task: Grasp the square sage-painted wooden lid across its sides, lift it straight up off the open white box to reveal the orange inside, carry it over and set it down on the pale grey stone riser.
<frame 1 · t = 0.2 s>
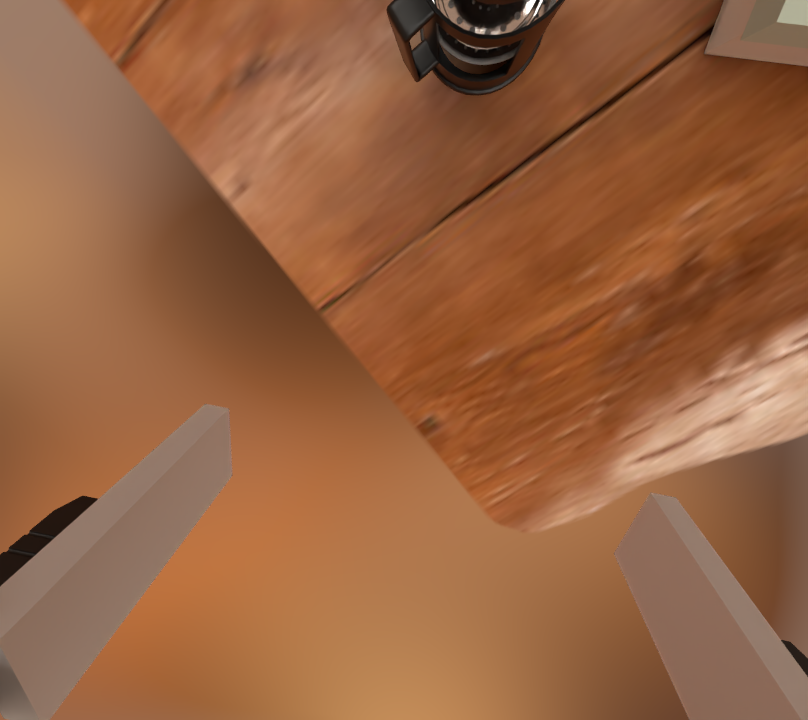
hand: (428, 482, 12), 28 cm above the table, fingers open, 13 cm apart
french press: (475, 27, 29), on the table
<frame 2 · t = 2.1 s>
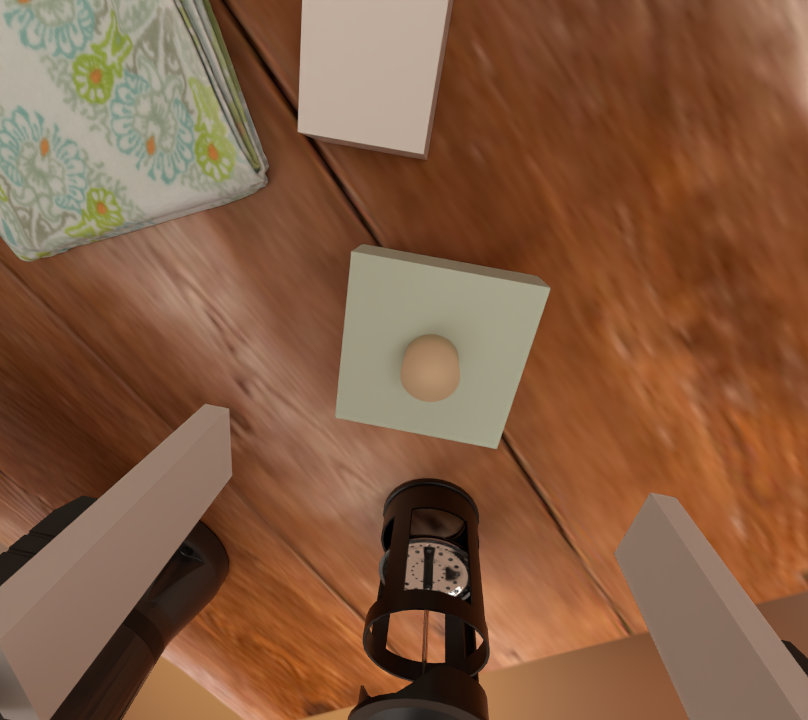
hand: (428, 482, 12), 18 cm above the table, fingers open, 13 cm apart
french press: (433, 516, 38), on the table
lid: (432, 341, 23), point 6 cm above the table, touching open white box
riser: (387, 35, 22), on the table
towel: (100, 85, 25), on the table
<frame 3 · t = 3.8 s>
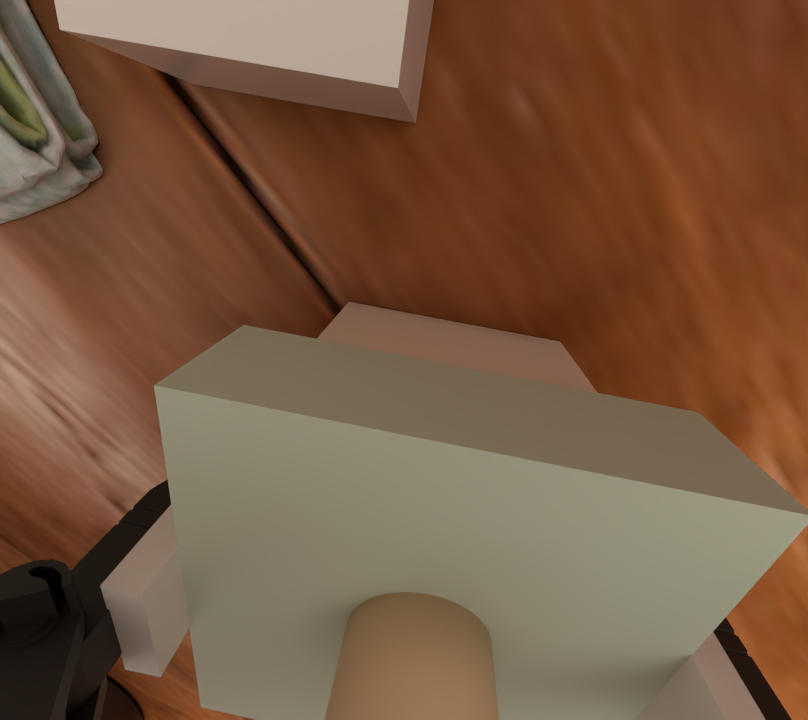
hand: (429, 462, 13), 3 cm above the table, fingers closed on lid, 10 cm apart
open white box: (433, 410, 16), on the table
lid: (424, 528, 10), point 6 cm above the table, touching open white box, gripper
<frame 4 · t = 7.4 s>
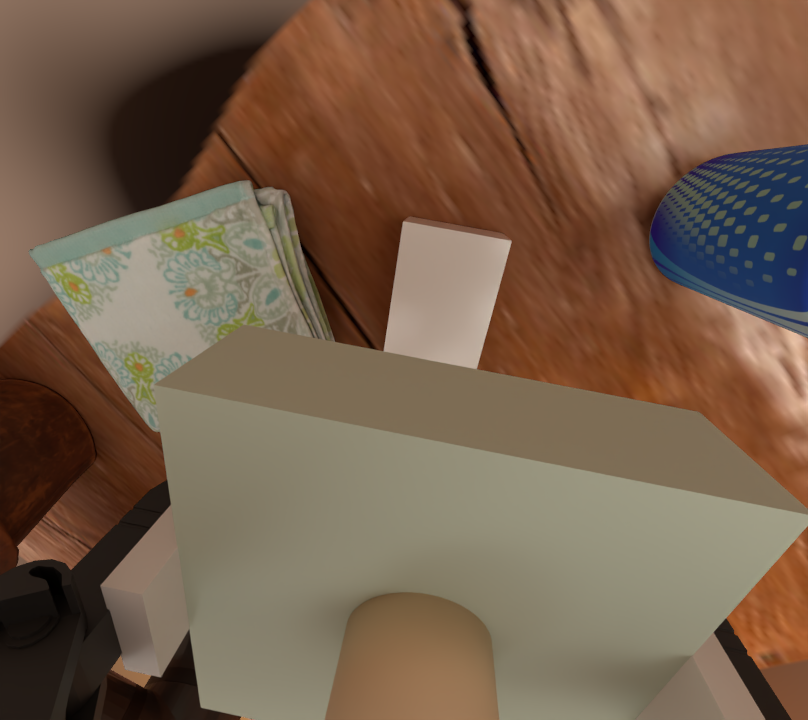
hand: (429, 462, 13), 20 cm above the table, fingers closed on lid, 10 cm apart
beer can: (704, 222, 26), on the table
lid: (425, 528, 10), point 22 cm above the table, touching gripper
riser: (439, 301, 30), on the table
towel: (222, 314, 34), on the table
brown tapered bucket: (41, 425, 41), on the table
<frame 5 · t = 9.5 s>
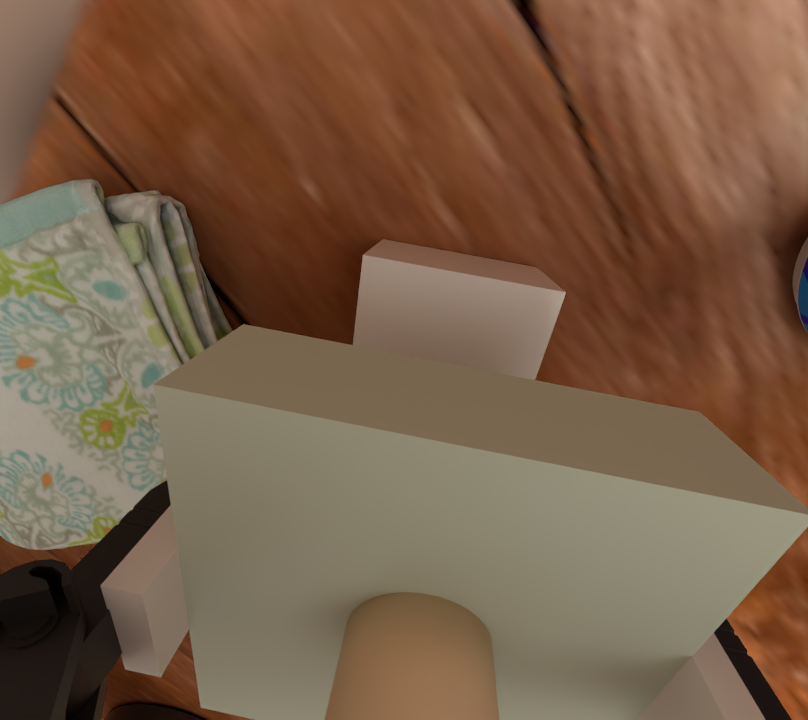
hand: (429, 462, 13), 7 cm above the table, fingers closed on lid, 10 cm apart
lid: (425, 528, 10), point 10 cm above the table, touching gripper
riser: (433, 370, 19), on the table
towel: (109, 379, 23), on the table
when the fingers open (3 cm above the table, at t = 11.1 s): lid stays where it is, resting on riser.
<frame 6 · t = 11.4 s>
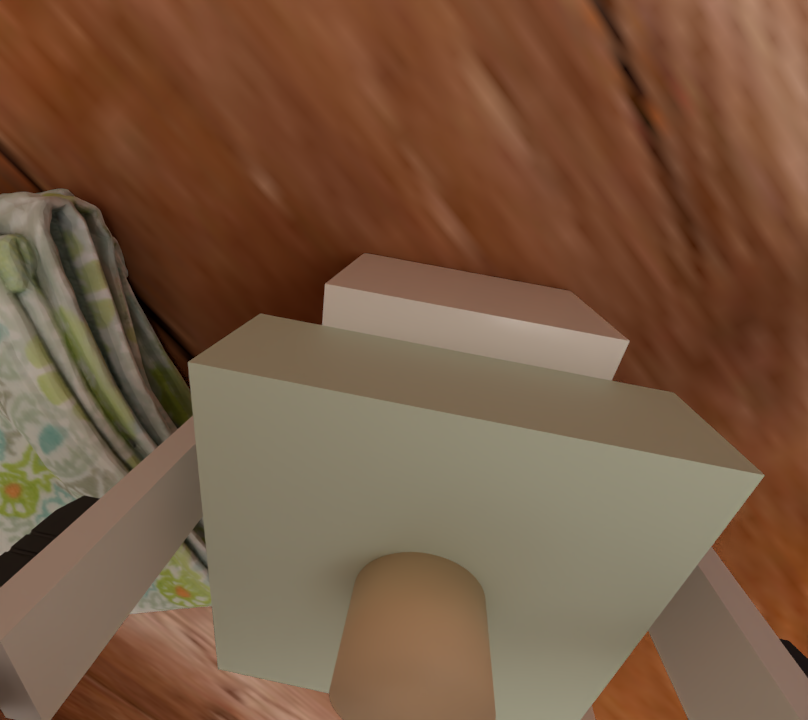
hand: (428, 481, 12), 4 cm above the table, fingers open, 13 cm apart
lid: (425, 504, 11), point 4 cm above the table, touching riser
riser: (432, 418, 15), on the table
towel: (36, 420, 18), on the table
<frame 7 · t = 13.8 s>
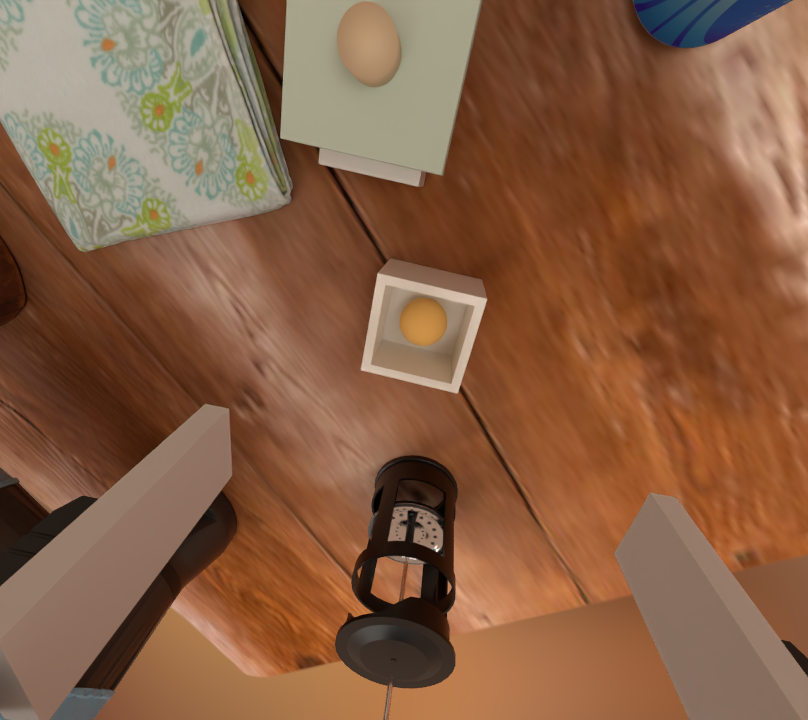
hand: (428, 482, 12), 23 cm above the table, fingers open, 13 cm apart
orange: (425, 314, 33), point 1 cm above the table, touching open white box
open white box: (425, 312, 34), on the table
french press: (418, 490, 43), on the table
lid: (383, 68, 23), point 4 cm above the table, touching riser
riser: (394, 85, 27), on the table
towel: (156, 110, 30), on the table
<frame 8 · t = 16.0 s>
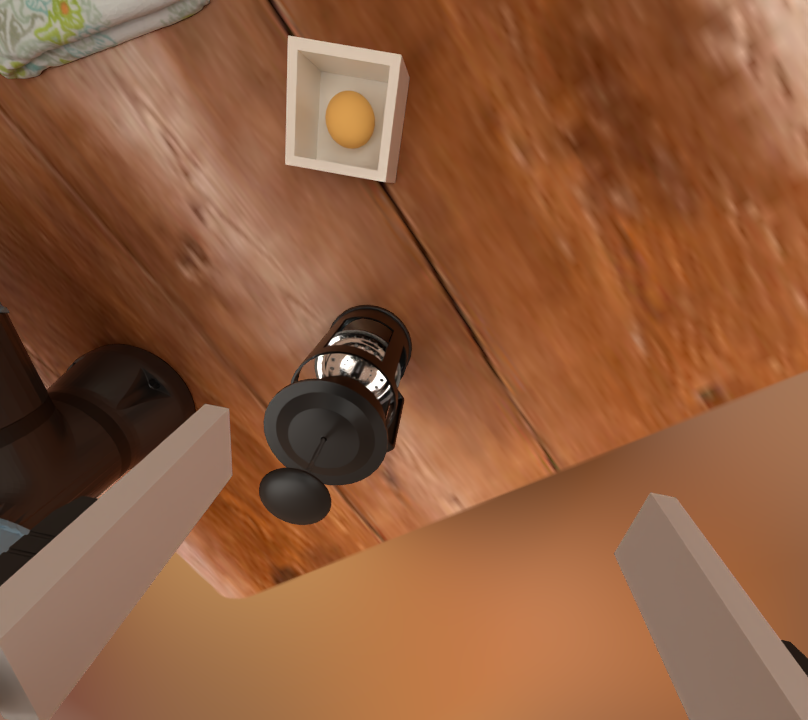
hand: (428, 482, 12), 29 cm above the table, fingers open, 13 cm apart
orange: (355, 124, 32), point 1 cm above the table, touching open white box
open white box: (357, 125, 33), on the table
french press: (372, 348, 42), on the table
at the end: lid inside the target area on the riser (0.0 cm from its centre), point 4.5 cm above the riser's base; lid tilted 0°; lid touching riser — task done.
